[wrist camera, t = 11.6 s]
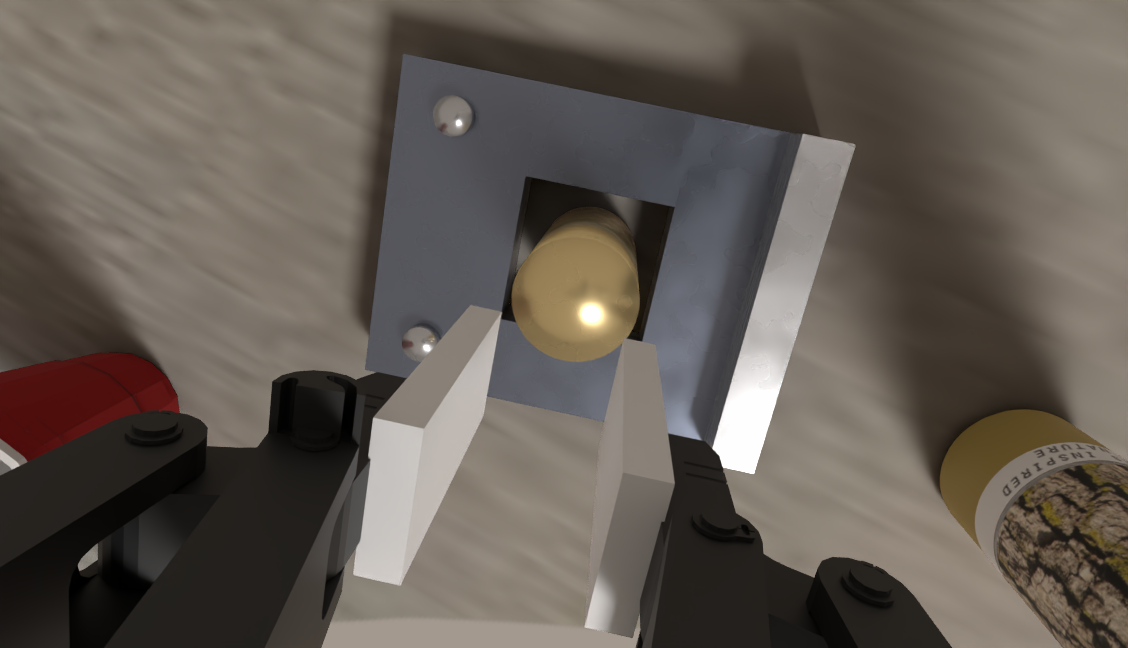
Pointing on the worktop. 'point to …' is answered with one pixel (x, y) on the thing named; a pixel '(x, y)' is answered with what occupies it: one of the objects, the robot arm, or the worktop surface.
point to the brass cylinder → (579, 287)
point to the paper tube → (1047, 519)
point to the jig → (621, 167)
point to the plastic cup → (74, 401)
